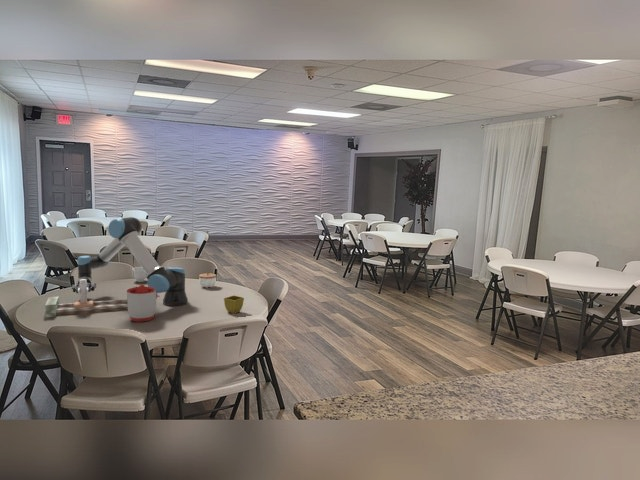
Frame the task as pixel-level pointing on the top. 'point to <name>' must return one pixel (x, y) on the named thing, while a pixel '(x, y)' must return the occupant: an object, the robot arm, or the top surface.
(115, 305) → the rail
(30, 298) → the top surface
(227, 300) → the flower pot
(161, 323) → the top surface
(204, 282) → the lidded bowl
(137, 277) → the teacup
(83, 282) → the carriage
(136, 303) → the citrus juicer
